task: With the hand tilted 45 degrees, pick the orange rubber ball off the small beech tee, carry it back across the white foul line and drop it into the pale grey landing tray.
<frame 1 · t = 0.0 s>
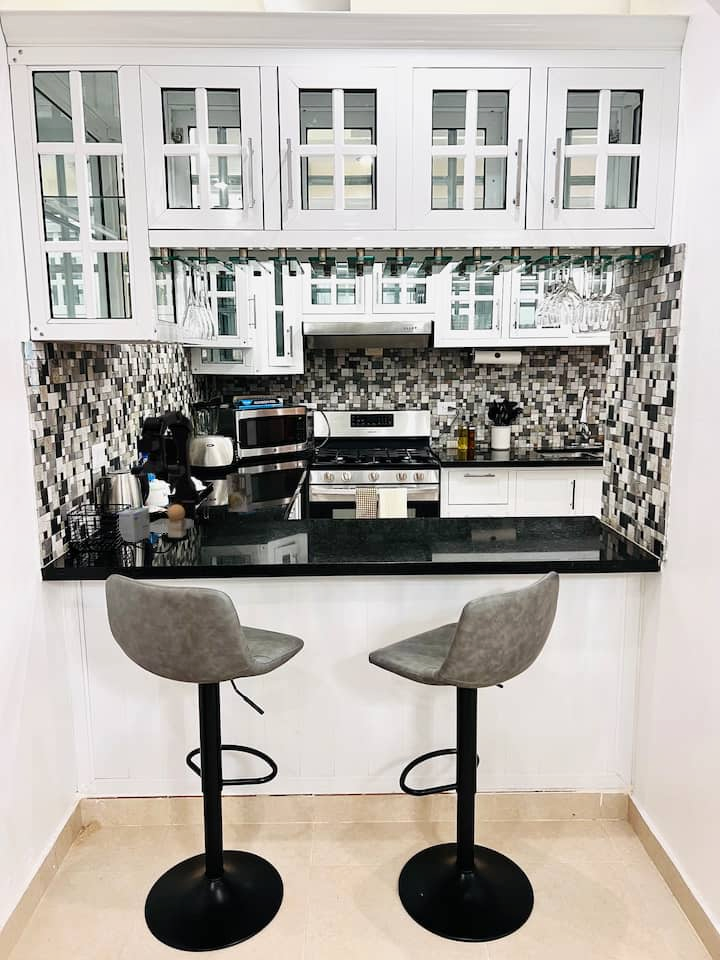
hand: (159, 493, 261), 15 cm above the countertop, tool pointing down, fingers open, 9 cm apart
ball: (176, 512, 256), point 8 cm above the countertop, touching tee
foul line: (162, 533, 262), on the countertop
light bulb box: (134, 540, 252), on the countertop
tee: (177, 535, 257), on the countertop
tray: (170, 529, 269), on the countertop
coffee box: (240, 511, 307), on the countertop
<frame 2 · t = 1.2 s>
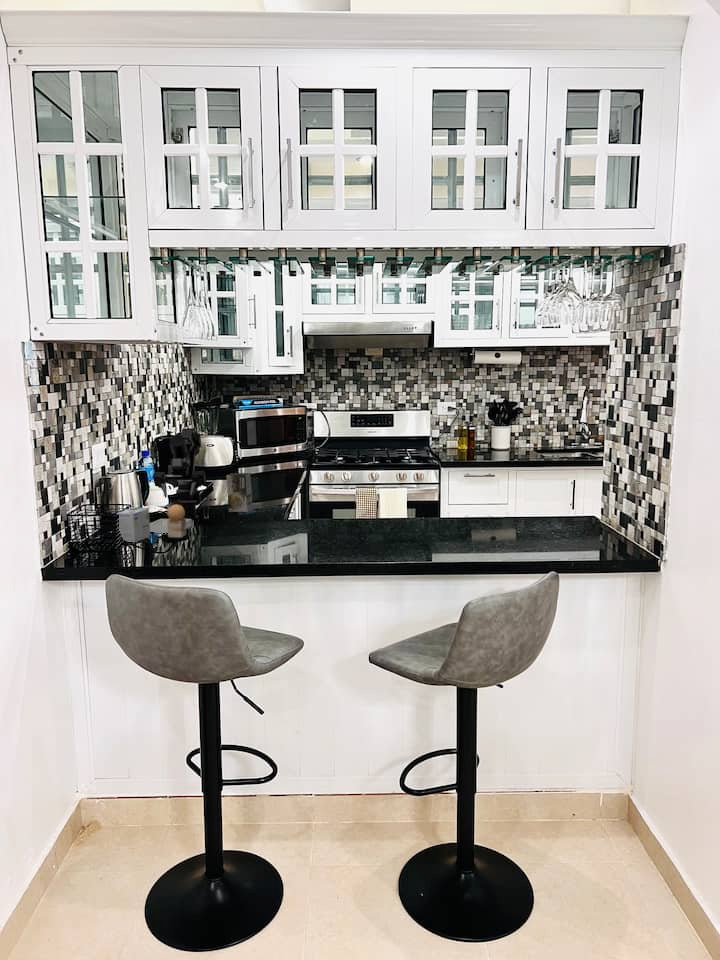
hand: (178, 496, 263), 13 cm above the countertop, tool tilted 45°, fingers open, 9 cm apart
nothing on the countertop moved.
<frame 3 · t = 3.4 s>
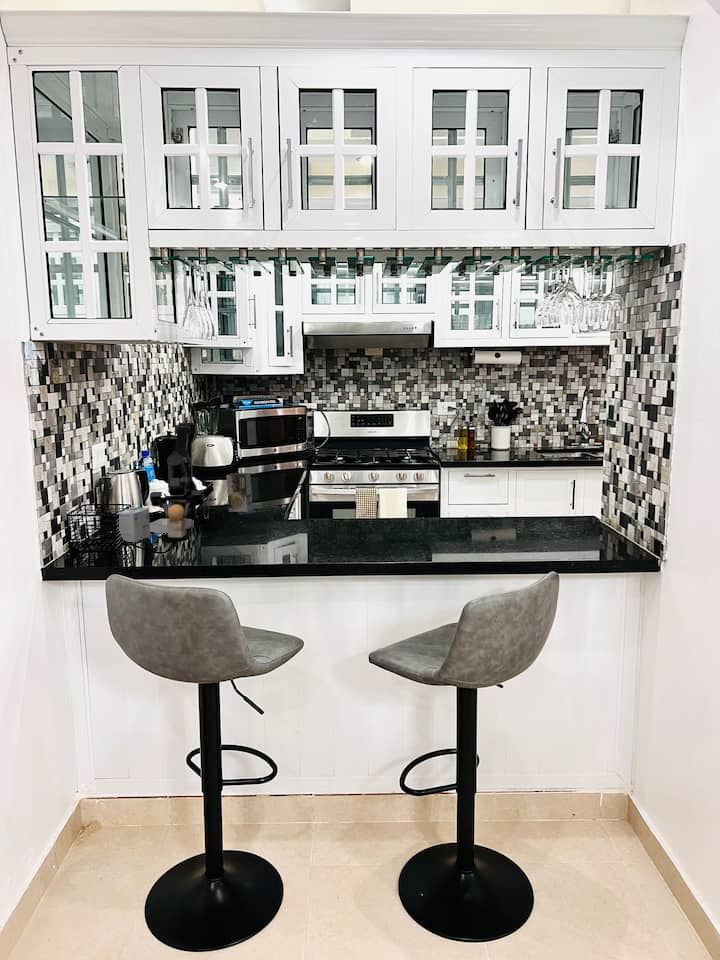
hand: (175, 517, 255), 7 cm above the countertop, tool tilted 45°, fingers closed on ball, 6 cm apart
ball: (176, 512, 256), point 8 cm above the countertop, touching gripper, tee
everything else where it was.
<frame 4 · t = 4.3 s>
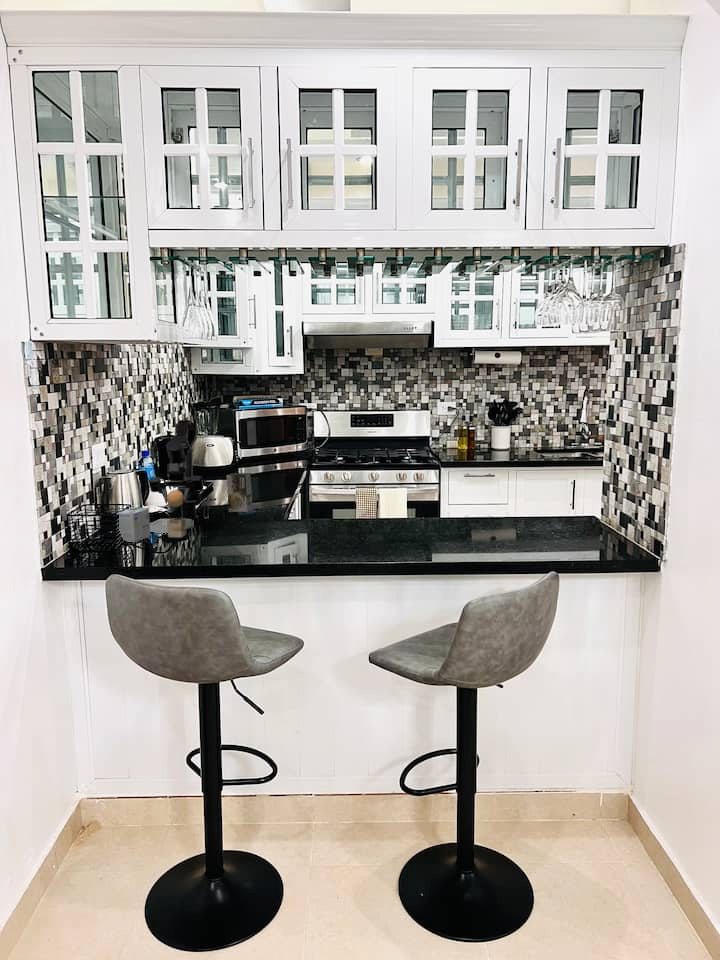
hand: (175, 502, 254), 12 cm above the countertop, tool tilted 45°, fingers closed on ball, 6 cm apart
ball: (175, 498, 255), point 14 cm above the countertop, touching gripper
everything else where it was.
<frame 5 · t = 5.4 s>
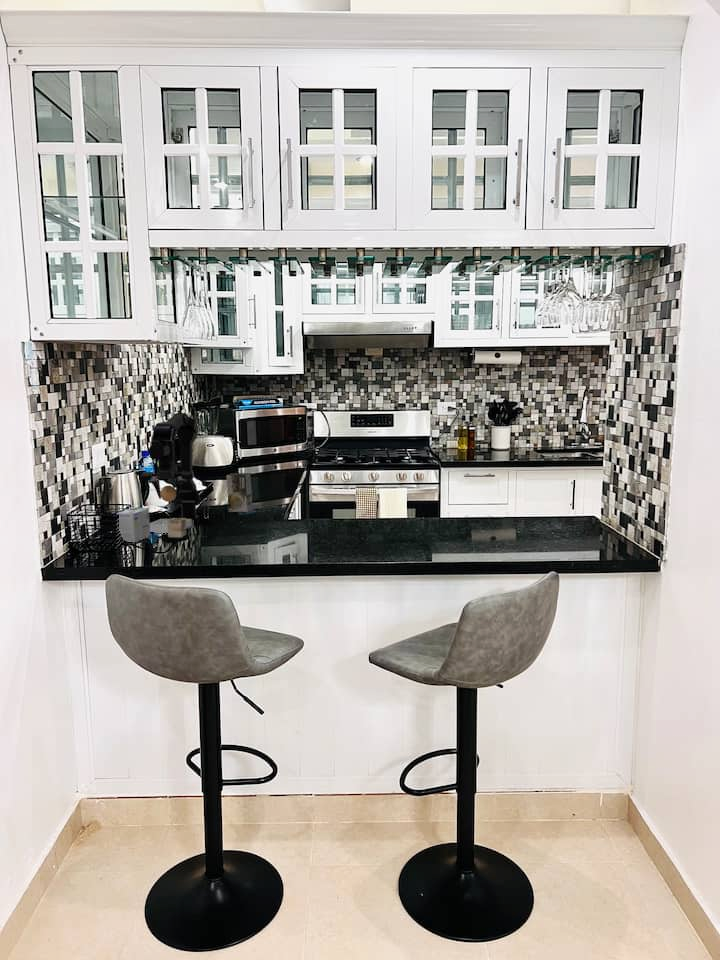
hand: (168, 498, 267), 12 cm above the countertop, tool pointing down, fingers closed on ball, 6 cm apart
ball: (168, 493, 267), point 14 cm above the countertop, tilted 45°, touching gripper
everything else where it was.
when the fingers open (5 cm above the countertop, at t = 6.6 s): ball drops 4 cm, resting on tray.
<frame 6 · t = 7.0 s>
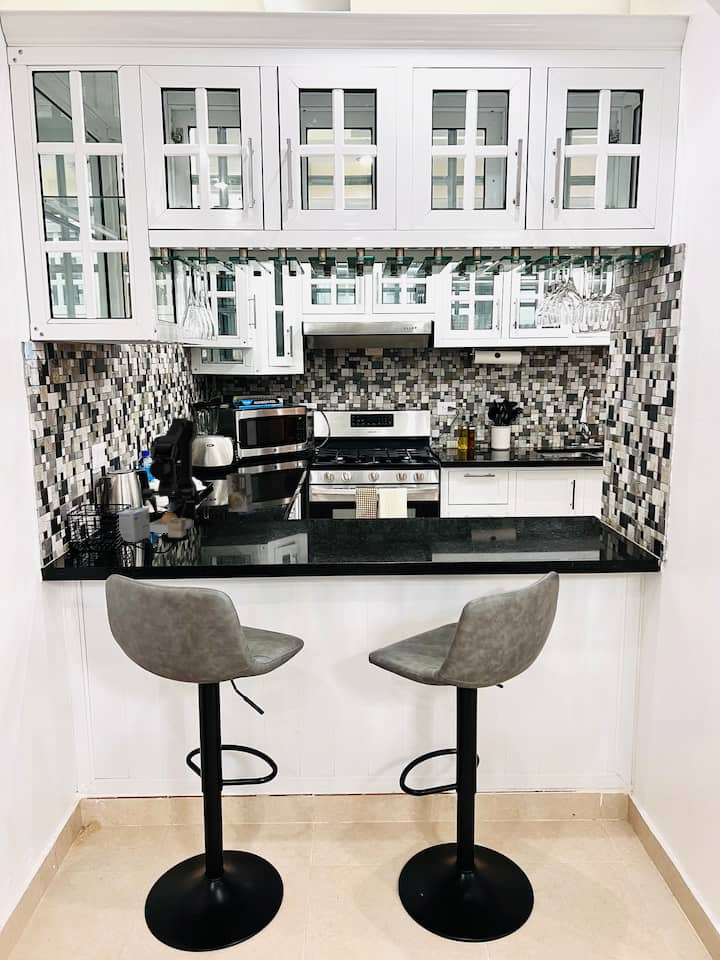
hand: (169, 515, 268), 5 cm above the countertop, tool pointing down, fingers open, 9 cm apart
ball: (169, 520, 268), point 4 cm above the countertop, tilted 45°, touching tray
everything else where it was.
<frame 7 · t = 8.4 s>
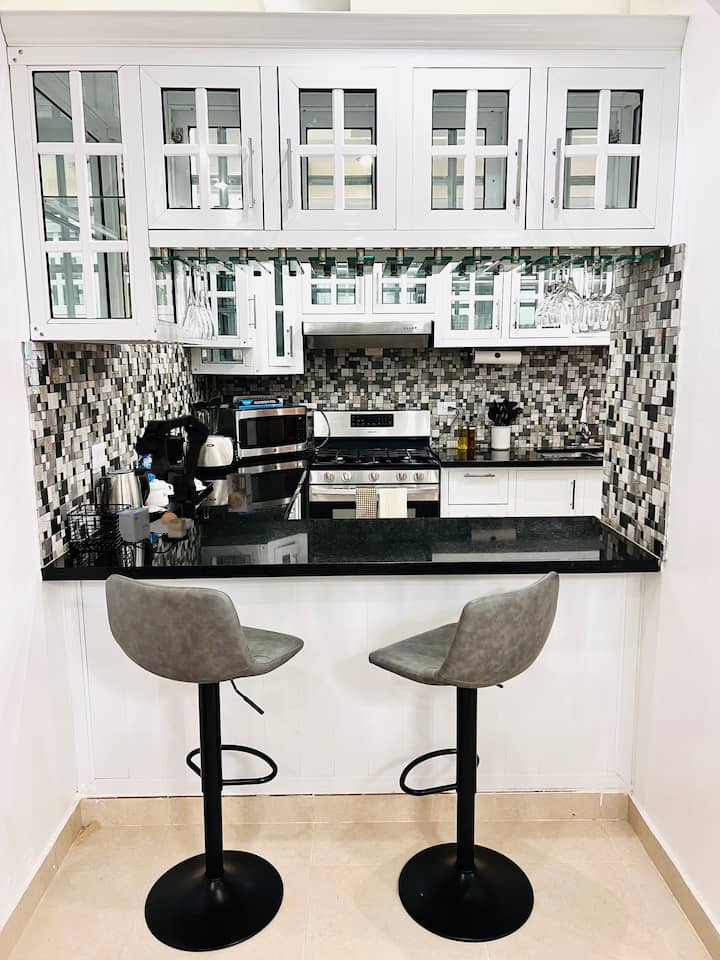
hand: (161, 493, 275), 13 cm above the countertop, tool pointing down, fingers open, 9 cm apart
nothing on the countertop moved.
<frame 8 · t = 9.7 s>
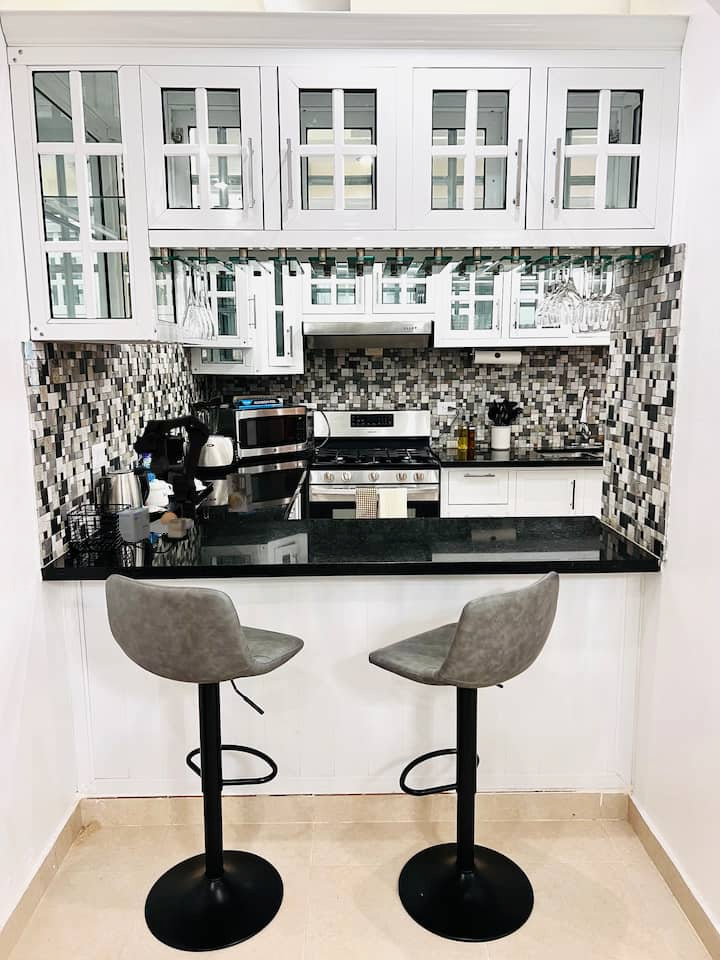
hand: (161, 492, 275), 13 cm above the countertop, tool pointing down, fingers open, 9 cm apart
nothing on the countertop moved.
at the end: ball inside the target area on the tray (0.1 cm from its centre), point 3.6 cm above the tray's base; the gripper is holding nothing; ball moved 13.6 cm from its start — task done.
